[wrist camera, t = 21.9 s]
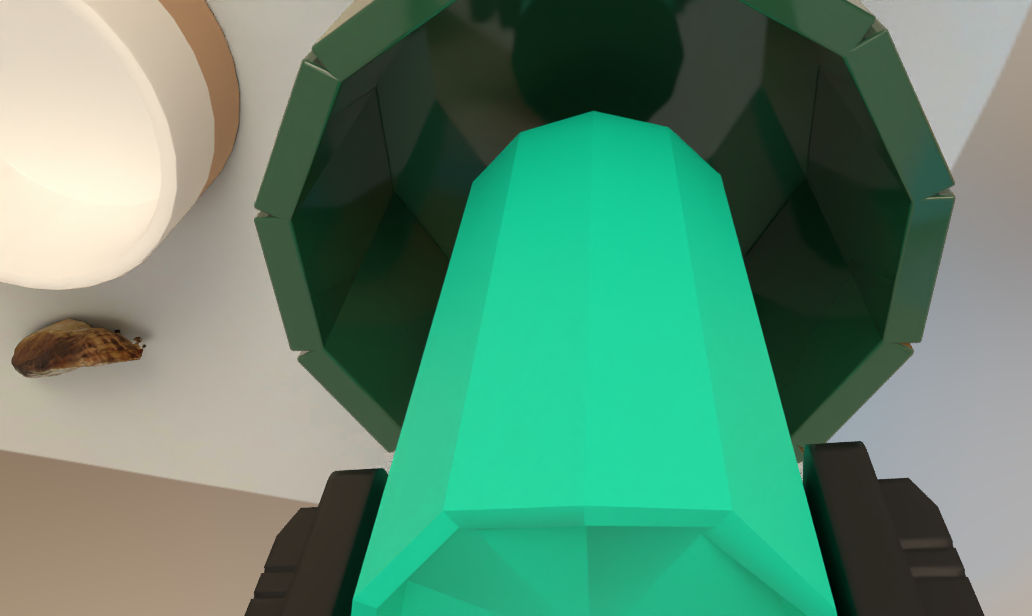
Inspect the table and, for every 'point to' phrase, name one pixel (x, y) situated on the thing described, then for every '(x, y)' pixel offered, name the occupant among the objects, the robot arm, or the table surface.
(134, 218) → the bowl
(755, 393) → the candle
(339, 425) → the table surface
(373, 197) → the pot
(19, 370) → the oyster shell
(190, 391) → the table surface
